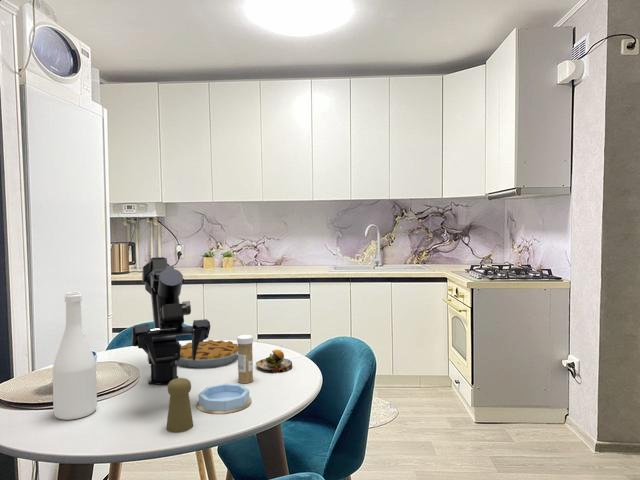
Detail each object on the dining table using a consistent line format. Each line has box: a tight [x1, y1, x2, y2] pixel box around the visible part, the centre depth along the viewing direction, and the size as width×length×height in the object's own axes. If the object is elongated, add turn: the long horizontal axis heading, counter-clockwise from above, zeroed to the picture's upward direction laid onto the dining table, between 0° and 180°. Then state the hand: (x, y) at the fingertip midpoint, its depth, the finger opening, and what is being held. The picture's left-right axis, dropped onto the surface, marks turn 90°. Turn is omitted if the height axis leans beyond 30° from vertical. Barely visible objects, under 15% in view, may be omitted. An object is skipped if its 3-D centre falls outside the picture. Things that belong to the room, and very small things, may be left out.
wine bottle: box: [52, 291, 98, 421], centre depth 115 cm, size 10×10×30 cm
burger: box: [255, 346, 293, 374], centre depth 151 cm, size 12×12×8 cm
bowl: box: [198, 383, 250, 411], centre depth 122 cm, size 12×12×2 cm
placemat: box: [196, 395, 252, 415], centre depth 122 cm, size 14×14×1 cm
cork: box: [165, 377, 194, 433], centre depth 107 cm, size 6×6×11 cm
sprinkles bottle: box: [236, 334, 254, 384], centre depth 138 cm, size 5×5×14 cm
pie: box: [178, 339, 238, 369], centre depth 160 cm, size 22×22×5 cm
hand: (175, 361), depth 114 cm, fingers open, 9 cm apart
